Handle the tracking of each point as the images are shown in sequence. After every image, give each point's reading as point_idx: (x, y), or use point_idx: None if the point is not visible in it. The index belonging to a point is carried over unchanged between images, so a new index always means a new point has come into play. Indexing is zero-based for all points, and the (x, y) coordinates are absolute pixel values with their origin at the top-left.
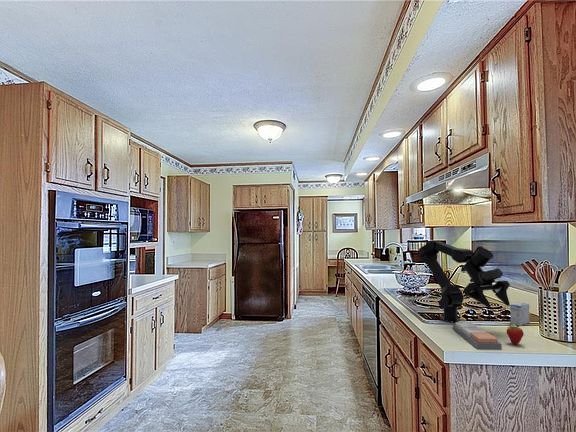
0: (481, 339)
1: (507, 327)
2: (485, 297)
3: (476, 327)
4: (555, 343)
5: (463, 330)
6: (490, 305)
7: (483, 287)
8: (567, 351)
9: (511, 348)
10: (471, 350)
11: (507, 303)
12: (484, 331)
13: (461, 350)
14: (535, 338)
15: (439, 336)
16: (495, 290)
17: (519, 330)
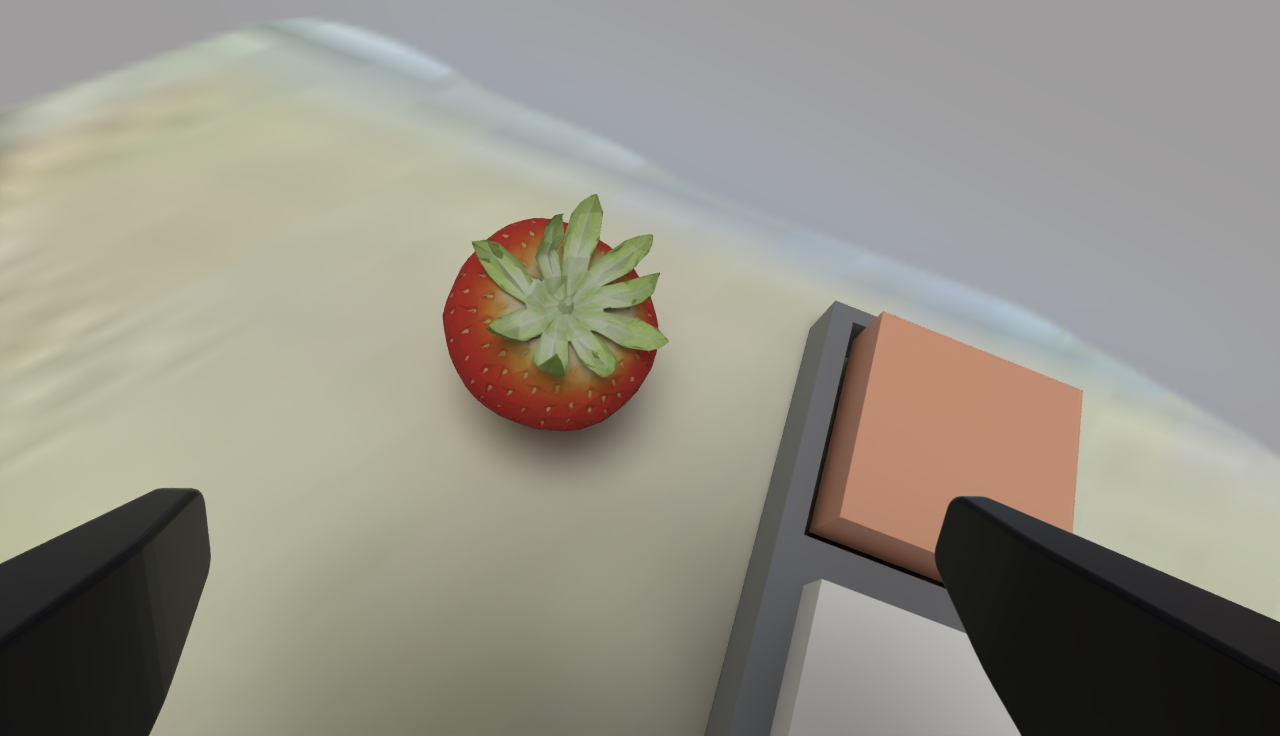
0: (1047, 383)
1: (652, 344)
2: (1247, 653)
3: None
4: (7, 250)
5: None
6: (973, 499)
7: None
8: (206, 69)
9: (687, 316)
10: (1106, 408)
11: (180, 551)
12: (818, 635)
13: (1196, 440)
14: (15, 474)
15: None
16: None
17: (565, 225)
